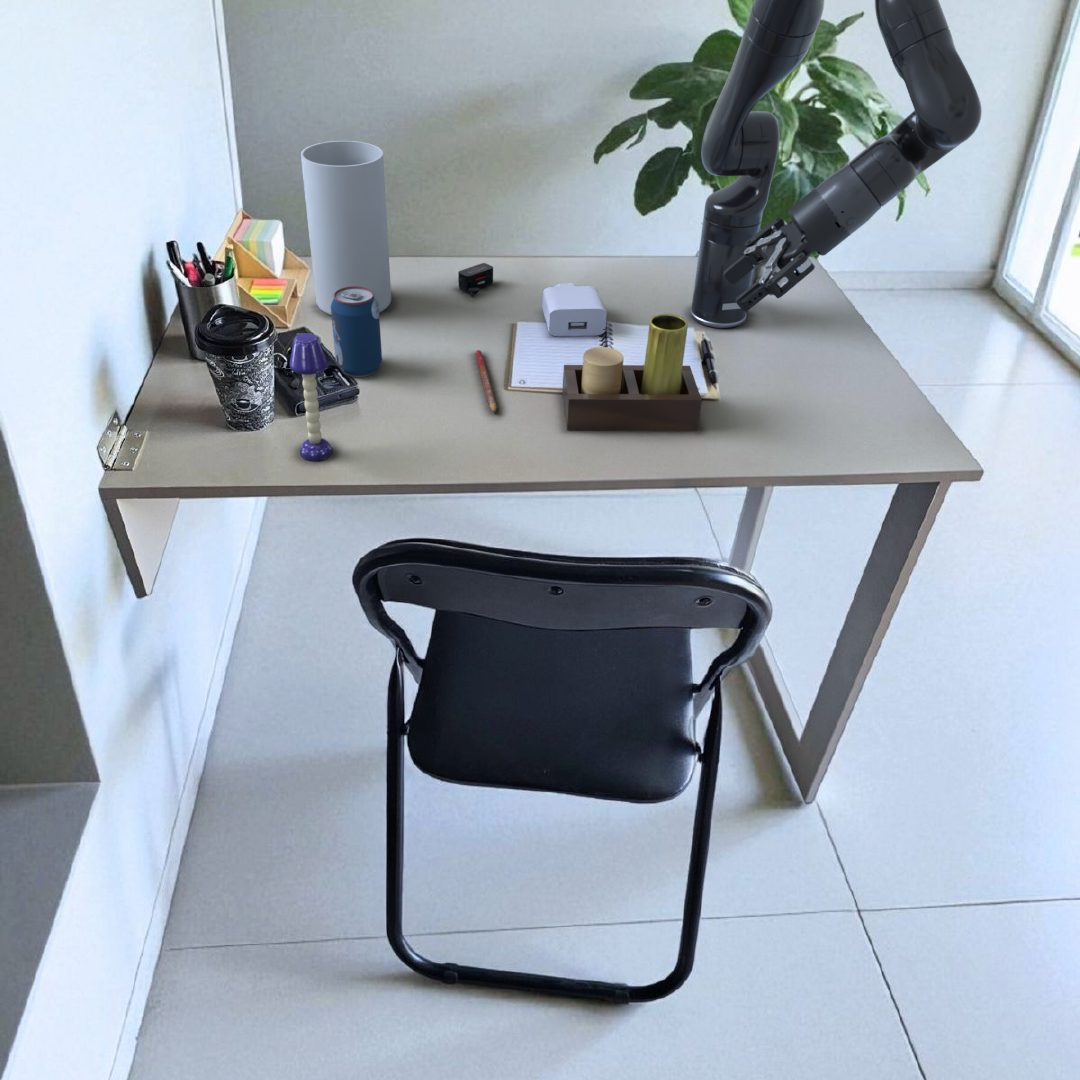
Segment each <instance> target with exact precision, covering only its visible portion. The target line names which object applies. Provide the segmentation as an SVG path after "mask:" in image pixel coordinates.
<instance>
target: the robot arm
mask: <svg viewBox="0 0 1080 1080" xmlns="http://www.w3.org/2000/svg"><path fill="white" fill-rule="evenodd" d="M941 5H942V4H941V2H940V1H939V0H874V10H875V17H876V23H877V26H878V29H879V31H880V34H881V36H882V39H883V41H884V44H885V47H886V50H887V52H888V55H889V57H890V59H891V62H892V64H893V66H894V69H895V70H896V72H897V74H898V76H899V77H900V78H901V79H902V80H903V82H904V85H905V87H906V90H907V93H908V96H909V98H910V101H911V104H912V107H913V109H914V110H913V111H911V113H909V115H907V116H906V117H905V118H904V119H903V120H902V121H901V122H899V124H897V125H896V126H895V127H894V128H893V129H892V130H890V132H889V133H887V134H886V135H884V136H881V137H880V138H879V139H876V140H875V141H874V142H872V143H871V144H869V146H868V147H866V148H864V149H863V150H862V151H861V152H860V153H858V154H857V155H856V156H854V157H853V159H852V160H850V161H849V162H848V163H847V164H845V165H844V166H842V167H840V169H838V170H836V171H835V172H833V173H831V174H830V175H829V176H828V177H826V178H825V179H824V180H823V181H822V182H821V183H819V184H818V185H817V186H816V187H815V188H814V189H812V190H811V191H810V192H808V193H807V194H805V196H803V197H802V198H801V199H800V200H799V201H797V203H795V204H794V205H793V206H792V207H790V208H789V210H788V216H789V218H790V220H791V221H789V222H786V220H785V219H784V218H783V217H782V215H778V216H776V218H774V219H772V221H770V222H769V223H767V224H766V225H765V226H764V227H762V228H761V226H762V220H763V216H764V212H765V209H766V207H767V204H768V200H769V195H770V190H771V185H772V182H773V177H774V173H775V168H776V165H777V164H776V163H777V160H778V154H779V149H780V148H779V147H780V127H779V122H778V119H777V118H776V116H775V115H774V114H773V113H772V112H770V111H766V110H765V111H764V110H756V111H754V110H753V108H754V107H755V106H756V105H757V104H758V102H759V101H761V100H762V99H763V98H764V97H766V95H767V94H768V93H769V92H771V91H772V90H774V88H775V87H777V86H778V85H779V84H780V83H782V81H783V80H785V79H786V78H787V77H788V76H789V75H790V74H791V73H792V72H793V71H794V70H796V68H797V67H798V66H799V65H800V64H801V62H802V61H803V60H804V58H805V56H806V55H807V54H808V52H809V49H810V46H811V44H812V42H813V39H814V38H815V34H816V32H817V30H818V27H819V25H820V22H821V20H822V16H823V13H824V8H825V0H753V3H752V6H751V8H750V12H749V14H748V18H747V20H746V23H745V27H744V30H743V32H742V33H743V34H742V36H741V40H740V43H739V46H738V49H737V52H736V54H735V58H734V60H733V63H732V66H731V68H730V71H729V74H728V76H727V78H726V81H725V83H724V85H723V88H722V89H721V92H720V94H719V96H718V98H717V100H716V103H715V105H714V107H713V109H712V111H711V113H710V115H709V118H708V120H707V123H706V126H705V129H704V133H703V137H702V141H701V151H700V154H701V163H702V166H703V168H704V169H705V171H706V172H707V173H708V174H710V175H711V176H716V177H737V178H736V179H735V180H733V182H731V183H730V184H728V185H726V186H724V187H723V188H720V189H718V190H716V191H713V192H712V193H711V194H710V195H708V196H707V198H706V200H705V203H704V209H703V210H704V211H703V217H702V226H701V232H700V233H701V234H700V240H699V241H700V242H699V249H698V255H697V256H698V257H697V258H698V259H697V263H696V271H695V279H694V286H693V293H692V300H691V307H690V312H689V315H690V317H691V319H693V320H694V321H695V322H696V323H699V324H701V325H703V326H706V327H711V328H717V329H731V328H736V327H739V326H741V325H743V324H745V322H746V319H747V315H748V313H749V311H750V310H751V309H752V308H753V307H755V306H756V305H757V304H759V303H760V302H761V301H762V300H763V299H765V298H766V297H767V296H770V297H771V296H774V297H775V298H776V299H780V298H782V297H783V296H785V295H786V294H787V293H788V292H790V290H791V289H793V288H794V287H795V286H796V285H797V284H799V283H800V282H801V281H802V280H803V279H805V278H806V277H807V276H808V275H810V274H811V273H812V272H813V271H814V270H815V268H816V266H815V265H814V263H813V262H812V260H811V259H810V258H809V257H811V255H812V254H813V253H814V252H816V253H817V254H818V255H819V256H821V257H822V256H826V255H827V254H829V252H831V251H832V250H834V249H835V248H836V247H838V246H839V245H840V244H842V242H844V241H845V240H846V239H848V237H850V236H851V235H853V234H854V233H855V232H857V230H859V229H860V228H861V227H863V226H864V225H865V224H866V223H868V222H869V221H870V220H871V218H872V217H874V215H875V214H876V213H878V212H879V210H881V209H882V208H883V207H885V206H886V205H887V204H888V203H889V202H891V201H892V200H893V199H895V198H896V197H897V196H898V195H900V193H902V192H903V191H904V190H905V189H906V188H908V187H909V186H910V185H911V184H912V183H913V182H914V181H915V179H916V178H917V177H918V176H919V175H920V174H922V173H923V172H925V171H926V170H927V169H929V168H931V167H932V166H933V165H934V164H936V163H937V162H939V161H940V160H941V159H942V158H944V157H945V156H946V155H948V154H949V153H951V152H952V151H954V150H955V149H956V148H958V147H959V146H960V145H961V144H963V143H964V142H966V141H967V140H969V139H970V138H971V137H972V136H973V135H974V134H975V133H976V131H977V129H978V128H979V125H980V122H981V119H982V112H983V111H982V104H981V103H982V102H981V100H980V96H979V94H978V91H977V88H976V86H975V84H974V82H973V80H972V77H971V76H970V74H969V72H968V70H967V68H966V66H965V64H964V62H963V60H962V58H961V57H960V55H959V53H958V51H957V49H956V46H955V43H954V40H953V35H952V33H951V29H950V26H949V25H948V21H947V18H946V16H945V14H944V12H943V8H942V6H941ZM763 264H765V265H764V267H765V270H764V272H763V274H762V276H760V278H759V280H758V277H759V276H758V271H757V267H758V266H760V265H763ZM783 283H784V284H783ZM782 284H783V285H782Z"/></svg>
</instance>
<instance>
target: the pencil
mask: <svg viewBox="0 0 1080 1080" xmlns="http://www.w3.org/2000/svg"><path fill="white" fill-rule="evenodd" d="M474 354H475V358H476V361H477V362H476V363H477V366H478V369H479V373H480V377H481V381H482V384H483V389H484V391H485V395H486V400H487V403H488V406H489V408H490V409H491V411H492V413H493V414H494V415H495V416H496V414H497V409H498V407H497V401H496V399H495V395H494V392H493V388H492V384H491V381H490V378H489V374H488V370H487V368H486V363H485V359H484V356H483V353H482V351H481V349H478V350H476V351H475V352H474Z"/></svg>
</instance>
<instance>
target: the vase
mask: <svg viewBox="0 0 1080 1080" xmlns="http://www.w3.org/2000/svg"><path fill="white" fill-rule="evenodd" d="M688 328H689V323H688V320H686V319H685V318H684V317H683V316H680V315H677V314H672V313H661V314H656V315H653V316H652V317H651V318H650V320H649V323H648V333H647V342H646V348H645V356H644V357H645V358H644V364H643V365H644V372H643V379H642V386H641V392H640V394H680V386H681V375H682V366H684V359H685V358H684V357H685V351H686V344H687V343H686V342H687V336H688Z"/></svg>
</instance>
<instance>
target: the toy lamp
mask: <svg viewBox="0 0 1080 1080" xmlns="http://www.w3.org/2000/svg"><path fill="white" fill-rule="evenodd" d="M327 367H328V361H327V358H326V355H325V352H324V350H323V347H322V344H321V341H320V339H319V337H318V336H317V335H316V334H313V333H301V334H297V335H296V336H295V337H294V339H293V342H292V348H291V352H290V359H289V368H290V370H291V371H292V372H293V373H296V374H299V375H301V377H302V387H303V398H304V408H305V409H304V410H305V419H306V421H307V422H306V429H307V431H308V433H307V439H306V440H304V441H303V442H302V444H301V446H300V449H299V456H300V457H301V458H303V459H304V460H308V461H314V462H315V461H321V460H325V459H327V458H329V457H330V456H331V455H332V453H333V448H332V446H331V444H330V442H329V441H328V440H327V439H325V438H322V437H323V436H322V435H323V434H322V432H321V427H322V425H321V422H320V418H321V413H320V411H319V406H320V404H319V400H318V396H319V395H318V390H317V386H318V383H317V379H316V376H317V374H320V373H322V372H324V371H325V370H326V369H327Z"/></svg>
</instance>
